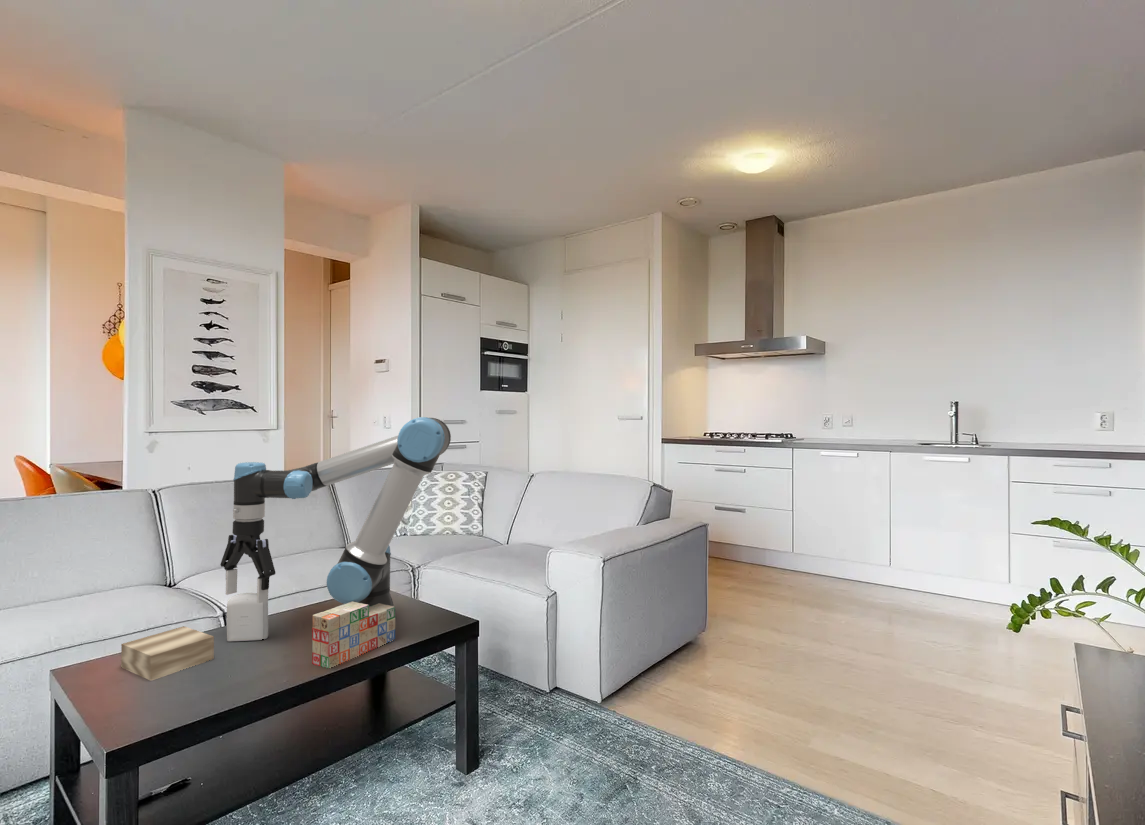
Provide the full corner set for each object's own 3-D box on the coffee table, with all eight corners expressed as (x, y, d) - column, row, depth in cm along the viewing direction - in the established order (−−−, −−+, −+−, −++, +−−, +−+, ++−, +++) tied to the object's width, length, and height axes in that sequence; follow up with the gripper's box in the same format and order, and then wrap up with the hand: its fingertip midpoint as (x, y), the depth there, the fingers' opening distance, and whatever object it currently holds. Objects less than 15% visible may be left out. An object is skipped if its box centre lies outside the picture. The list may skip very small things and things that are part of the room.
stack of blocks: (379, 636, 162) (379, 591, 163) (395, 640, 159) (396, 595, 159) (311, 664, 144) (311, 614, 144) (328, 670, 141) (328, 618, 141)
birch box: (213, 660, 146) (213, 636, 146) (150, 682, 134) (150, 656, 134) (183, 649, 153) (183, 626, 153) (121, 668, 141) (121, 643, 141)
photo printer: (223, 643, 157) (224, 596, 157) (231, 637, 161) (231, 591, 161) (264, 641, 158) (265, 595, 158) (270, 635, 162) (271, 590, 162)
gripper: (207, 516, 162) (205, 593, 162) (265, 526, 151) (262, 609, 151) (234, 513, 169) (231, 586, 169) (291, 522, 157) (289, 601, 157)
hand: (246, 597), depth 160 cm, fingers open, 13 cm apart
